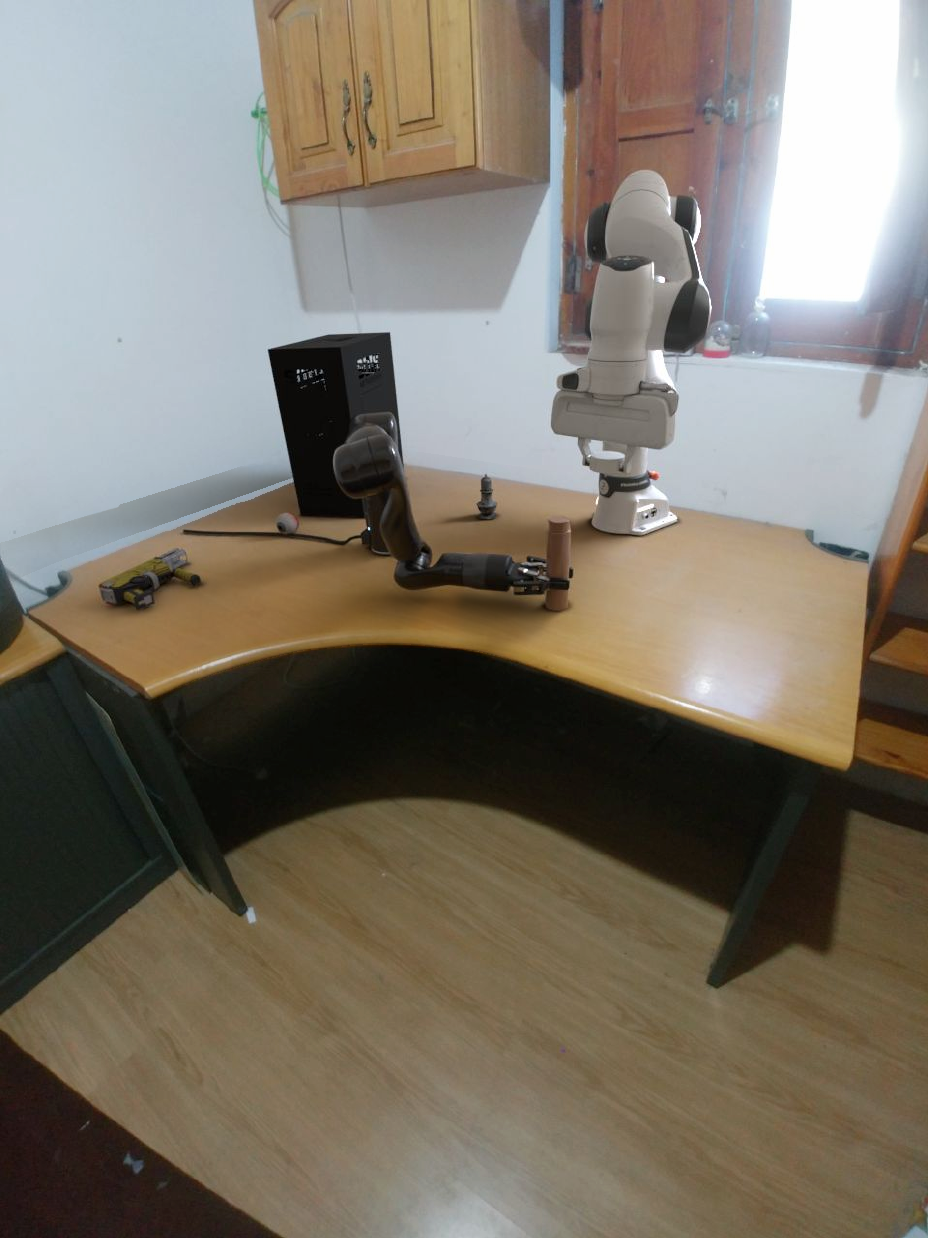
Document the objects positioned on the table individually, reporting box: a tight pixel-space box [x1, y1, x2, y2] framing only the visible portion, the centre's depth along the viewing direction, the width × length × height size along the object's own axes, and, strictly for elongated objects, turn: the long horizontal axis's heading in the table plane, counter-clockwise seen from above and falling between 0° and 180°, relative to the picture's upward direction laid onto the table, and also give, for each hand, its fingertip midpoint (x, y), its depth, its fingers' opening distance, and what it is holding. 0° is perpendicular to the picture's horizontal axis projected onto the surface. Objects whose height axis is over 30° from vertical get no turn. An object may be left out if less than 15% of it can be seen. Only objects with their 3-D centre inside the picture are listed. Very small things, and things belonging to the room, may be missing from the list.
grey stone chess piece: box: [476, 473, 498, 520], centre depth 166 cm, size 6×6×12 cm
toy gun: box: [98, 547, 202, 611], centre depth 139 cm, size 5×24×15 cm
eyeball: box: [275, 511, 300, 534], centre depth 163 cm, size 6×6×6 cm
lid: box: [588, 450, 625, 474], centre depth 99 cm, size 6×6×2 cm
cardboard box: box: [267, 331, 405, 518], centre depth 180 cm, size 38×20×45 cm, turn 167°
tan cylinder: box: [544, 514, 572, 612], centre depth 118 cm, size 4×4×19 cm
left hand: (570, 578), depth 119 cm, fingers closed on tan cylinder, 4 cm apart
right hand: (605, 468), depth 99 cm, fingers closed on lid, 5 cm apart
